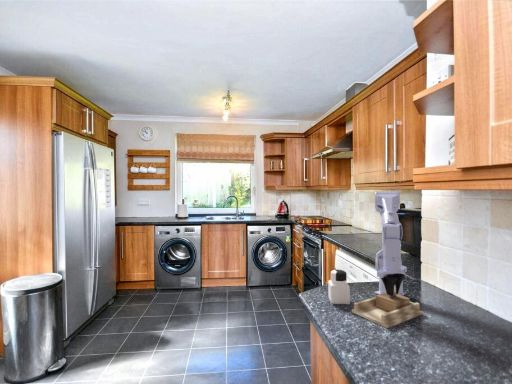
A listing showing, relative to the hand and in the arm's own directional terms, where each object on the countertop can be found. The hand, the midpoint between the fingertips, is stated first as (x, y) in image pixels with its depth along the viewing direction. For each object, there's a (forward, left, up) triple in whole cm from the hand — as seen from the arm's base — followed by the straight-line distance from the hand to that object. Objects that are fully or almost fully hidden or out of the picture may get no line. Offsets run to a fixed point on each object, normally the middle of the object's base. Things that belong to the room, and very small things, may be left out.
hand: (392, 294), depth 101 cm
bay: (+3, 0, -6) cm, 7 cm away
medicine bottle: (+9, -17, -6) cm, 20 cm away
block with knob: (0, 0, -5) cm, 5 cm away
